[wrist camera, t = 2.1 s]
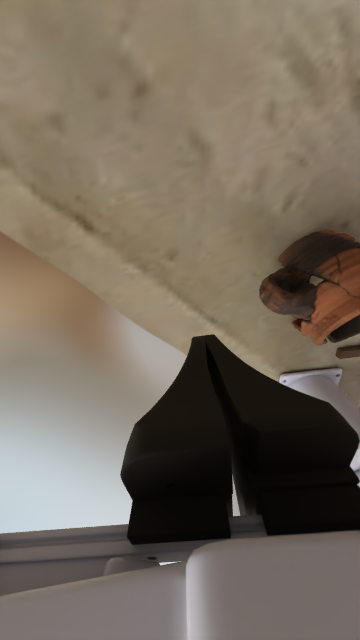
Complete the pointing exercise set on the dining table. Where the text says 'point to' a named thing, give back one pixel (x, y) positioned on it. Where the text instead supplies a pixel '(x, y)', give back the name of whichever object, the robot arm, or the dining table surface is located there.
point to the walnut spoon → (348, 352)
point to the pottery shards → (318, 286)
